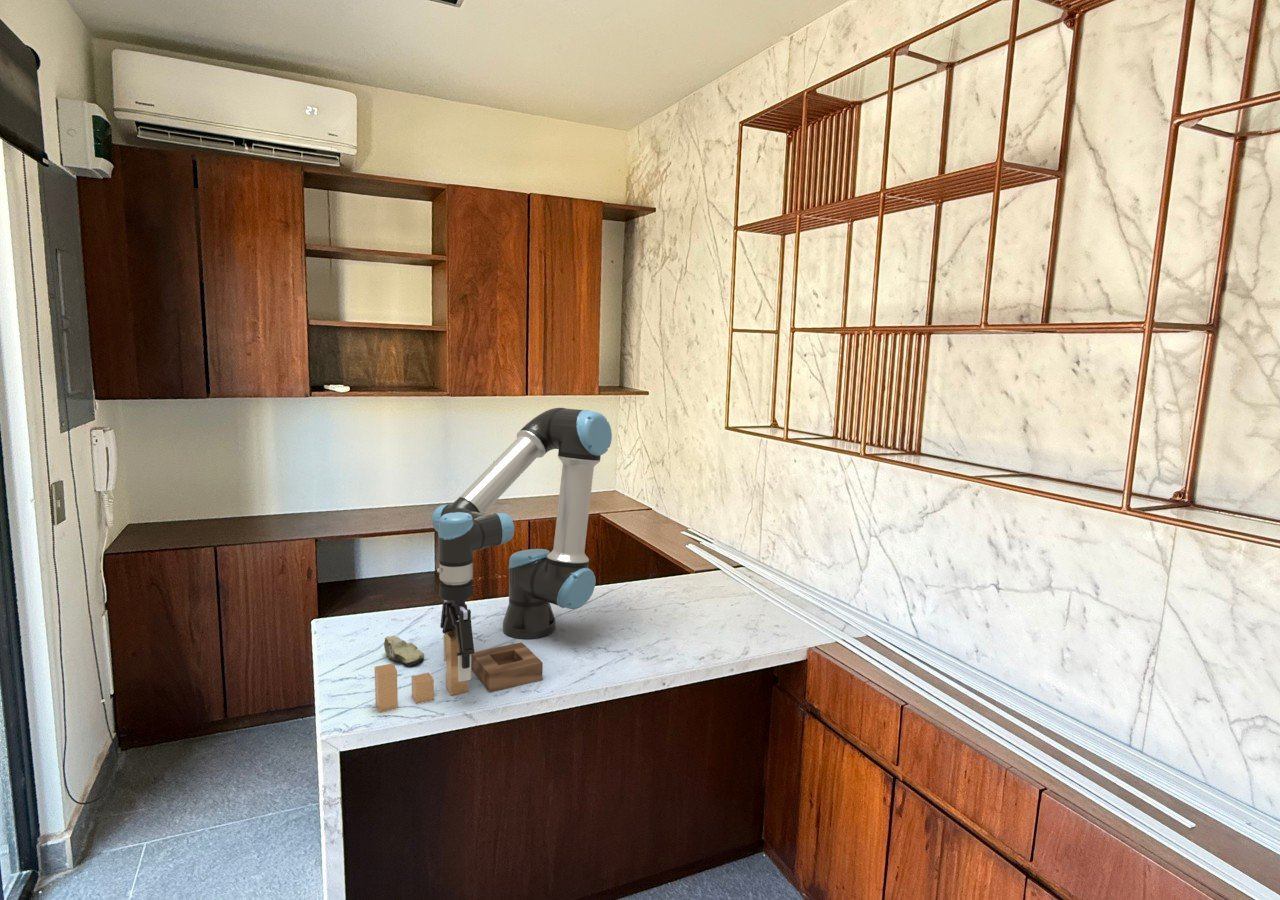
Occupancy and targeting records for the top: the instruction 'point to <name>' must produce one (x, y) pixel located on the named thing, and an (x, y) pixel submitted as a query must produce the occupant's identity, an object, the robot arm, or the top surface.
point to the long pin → (453, 666)
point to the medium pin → (386, 687)
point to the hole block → (506, 666)
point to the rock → (402, 651)
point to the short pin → (422, 688)
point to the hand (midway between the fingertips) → (456, 669)
